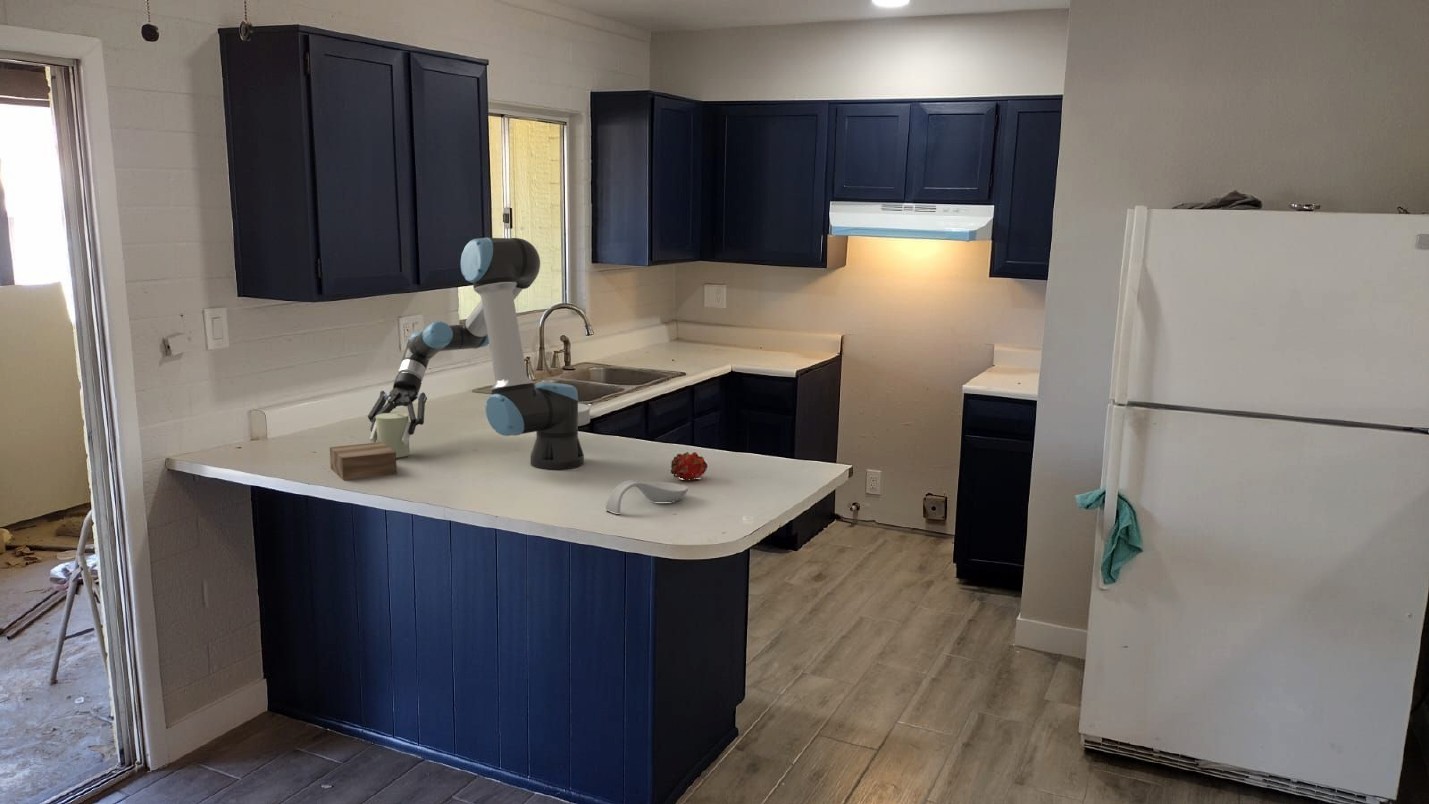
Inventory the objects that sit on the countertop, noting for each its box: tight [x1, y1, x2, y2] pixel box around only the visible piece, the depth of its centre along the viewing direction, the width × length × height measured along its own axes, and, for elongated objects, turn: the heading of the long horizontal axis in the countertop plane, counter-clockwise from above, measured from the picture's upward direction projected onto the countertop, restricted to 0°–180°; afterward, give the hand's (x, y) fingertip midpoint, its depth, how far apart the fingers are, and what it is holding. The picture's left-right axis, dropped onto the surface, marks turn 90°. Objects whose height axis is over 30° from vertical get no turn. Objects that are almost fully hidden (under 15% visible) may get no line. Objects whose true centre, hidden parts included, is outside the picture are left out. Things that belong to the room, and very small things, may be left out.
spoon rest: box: [605, 479, 689, 514], centre depth 252 cm, size 24×12×7 cm, turn 139°
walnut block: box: [329, 442, 398, 481], centre depth 277 cm, size 14×14×6 cm
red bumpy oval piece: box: [670, 451, 708, 481], centre depth 276 cm, size 8×8×12 cm
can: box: [376, 412, 411, 459], centre depth 294 cm, size 9×9×12 cm
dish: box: [578, 402, 591, 427], centre depth 350 cm, size 22×22×5 cm
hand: (388, 442), depth 291 cm, fingers closed on can, 9 cm apart
